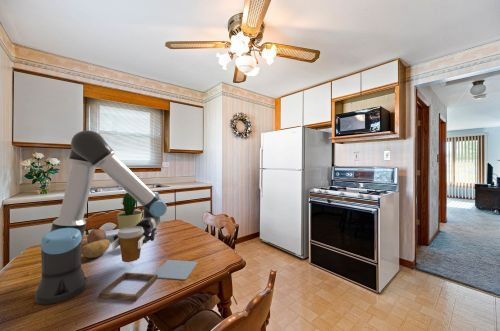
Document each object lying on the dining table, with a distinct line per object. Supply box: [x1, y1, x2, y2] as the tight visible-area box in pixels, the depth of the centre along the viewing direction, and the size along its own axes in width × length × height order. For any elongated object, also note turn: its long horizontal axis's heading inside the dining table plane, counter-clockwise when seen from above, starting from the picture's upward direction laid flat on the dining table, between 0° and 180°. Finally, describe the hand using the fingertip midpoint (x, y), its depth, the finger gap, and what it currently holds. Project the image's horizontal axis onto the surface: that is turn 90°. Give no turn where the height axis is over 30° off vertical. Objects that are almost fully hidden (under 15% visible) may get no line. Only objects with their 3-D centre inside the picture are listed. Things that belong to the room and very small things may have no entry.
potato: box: [81, 238, 111, 259], centre depth 115 cm, size 10×14×8 cm
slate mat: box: [153, 259, 199, 281], centre depth 102 cm, size 16×16×1 cm
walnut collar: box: [98, 272, 159, 302], centre depth 87 cm, size 15×15×2 cm
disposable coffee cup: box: [116, 226, 144, 263], centre depth 87 cm, size 10×10×12 cm
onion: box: [86, 228, 107, 244], centre depth 131 cm, size 10×9×10 cm
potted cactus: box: [116, 192, 143, 231], centre depth 148 cm, size 15×15×30 cm
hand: (126, 245), depth 82 cm, fingers closed on disposable coffee cup, 8 cm apart
